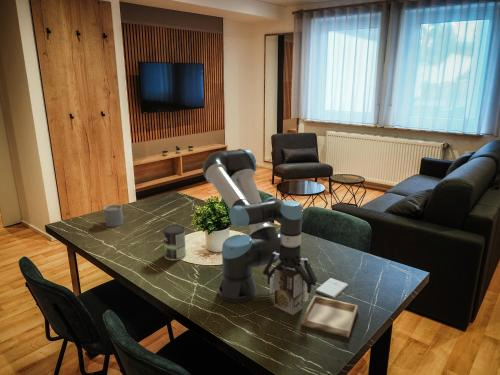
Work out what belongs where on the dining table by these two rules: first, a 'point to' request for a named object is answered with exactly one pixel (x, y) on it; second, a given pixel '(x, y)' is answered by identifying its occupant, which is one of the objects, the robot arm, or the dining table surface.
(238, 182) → the robot arm
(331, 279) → the external hard drive
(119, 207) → the coffee mug
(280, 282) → the coffee box
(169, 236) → the coffee can
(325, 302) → the holder
